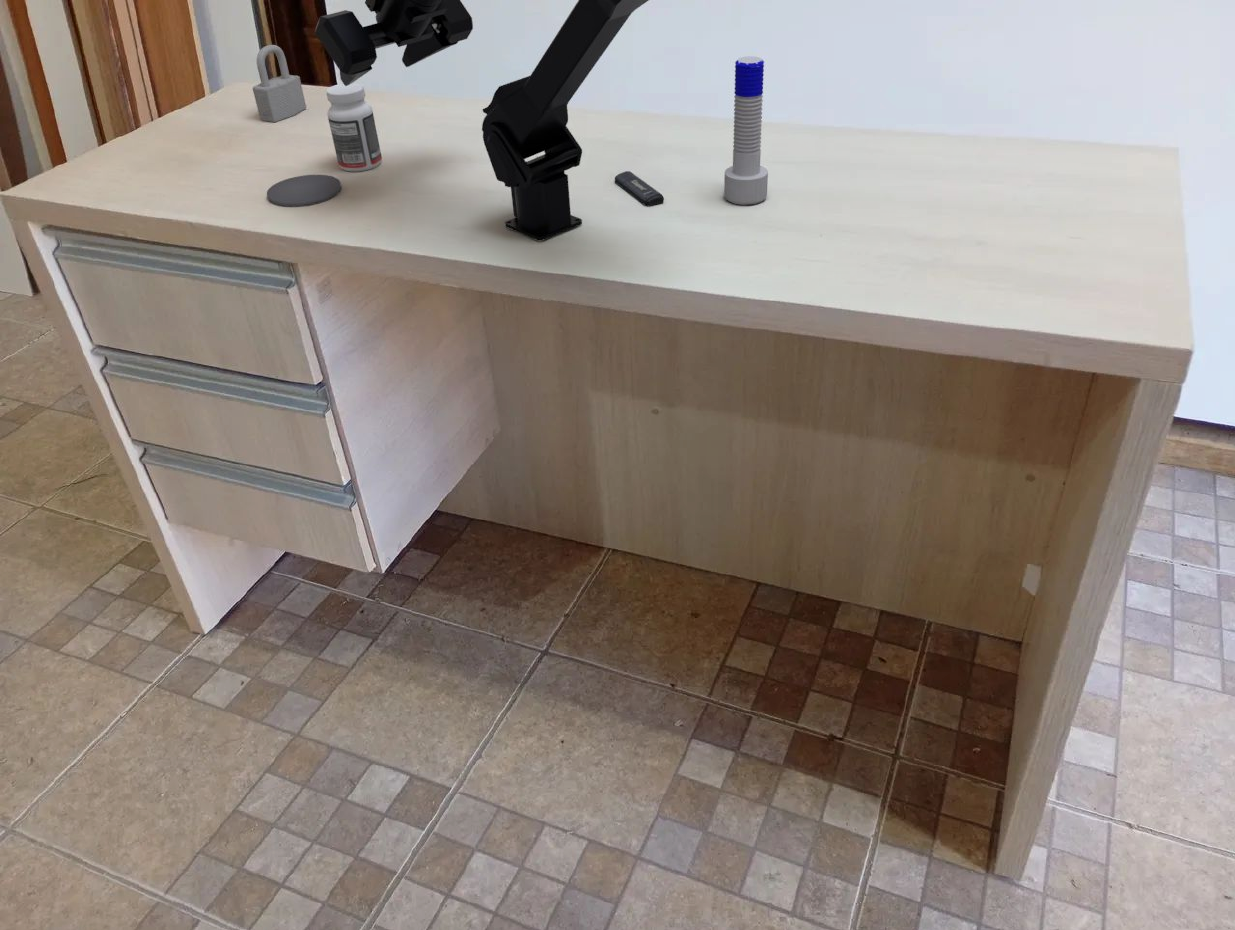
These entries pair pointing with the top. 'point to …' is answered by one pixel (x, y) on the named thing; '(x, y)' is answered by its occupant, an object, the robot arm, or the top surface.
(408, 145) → the top surface
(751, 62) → the bolt
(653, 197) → the usb stick
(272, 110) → the padlock
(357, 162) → the pill bottle
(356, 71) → the robot arm
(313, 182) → the coaster
